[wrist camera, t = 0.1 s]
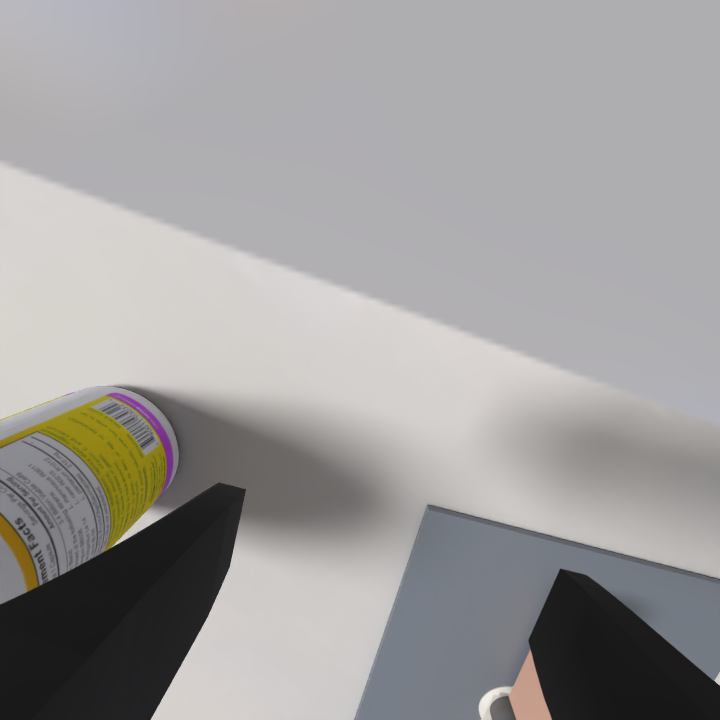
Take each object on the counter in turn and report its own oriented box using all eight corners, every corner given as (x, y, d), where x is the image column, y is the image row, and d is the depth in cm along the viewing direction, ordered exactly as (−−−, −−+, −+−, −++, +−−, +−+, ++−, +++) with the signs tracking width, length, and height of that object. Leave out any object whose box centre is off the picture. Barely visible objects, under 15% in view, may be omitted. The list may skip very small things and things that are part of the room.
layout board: (600, 849, 24) (604, 862, 23) (331, 785, 23) (330, 796, 23) (758, 589, 19) (768, 597, 19) (427, 504, 19) (428, 510, 18)
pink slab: (529, 701, 20) (557, 778, 17) (505, 695, 20) (529, 771, 17) (581, 593, 19) (622, 656, 15) (555, 586, 19) (591, 648, 15)
